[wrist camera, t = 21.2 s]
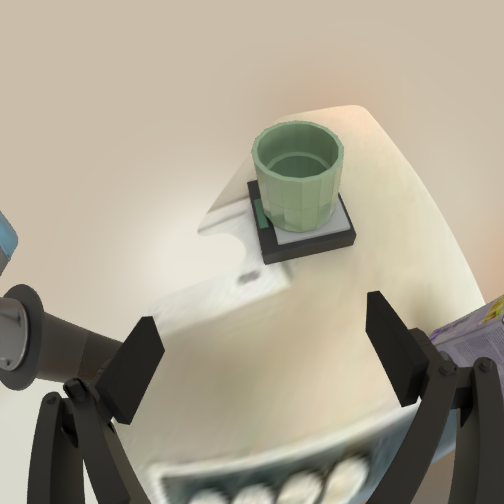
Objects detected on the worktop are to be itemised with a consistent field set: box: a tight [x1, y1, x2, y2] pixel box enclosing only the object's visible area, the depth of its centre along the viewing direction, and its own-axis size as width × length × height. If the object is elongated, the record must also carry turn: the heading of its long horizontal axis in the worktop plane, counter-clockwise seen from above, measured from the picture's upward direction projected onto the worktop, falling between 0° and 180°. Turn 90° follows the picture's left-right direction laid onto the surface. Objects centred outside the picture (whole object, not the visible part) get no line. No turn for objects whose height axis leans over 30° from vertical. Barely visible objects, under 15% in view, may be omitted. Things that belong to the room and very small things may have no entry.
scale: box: [247, 180, 356, 265], centre depth 40 cm, size 13×13×4 cm
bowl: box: [251, 121, 344, 232], centre depth 34 cm, size 10×10×10 cm
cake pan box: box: [429, 295, 504, 400], centre depth 19 cm, size 19×5×18 cm, turn 37°
